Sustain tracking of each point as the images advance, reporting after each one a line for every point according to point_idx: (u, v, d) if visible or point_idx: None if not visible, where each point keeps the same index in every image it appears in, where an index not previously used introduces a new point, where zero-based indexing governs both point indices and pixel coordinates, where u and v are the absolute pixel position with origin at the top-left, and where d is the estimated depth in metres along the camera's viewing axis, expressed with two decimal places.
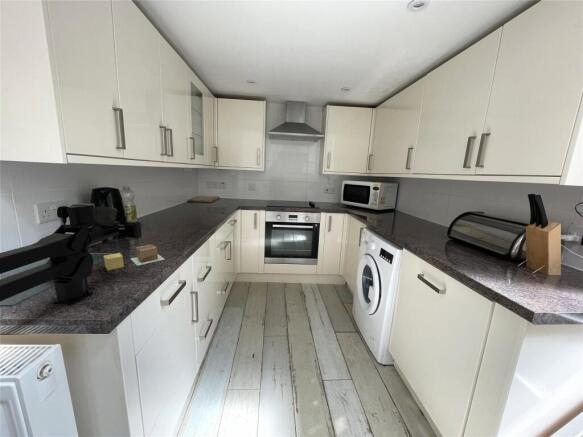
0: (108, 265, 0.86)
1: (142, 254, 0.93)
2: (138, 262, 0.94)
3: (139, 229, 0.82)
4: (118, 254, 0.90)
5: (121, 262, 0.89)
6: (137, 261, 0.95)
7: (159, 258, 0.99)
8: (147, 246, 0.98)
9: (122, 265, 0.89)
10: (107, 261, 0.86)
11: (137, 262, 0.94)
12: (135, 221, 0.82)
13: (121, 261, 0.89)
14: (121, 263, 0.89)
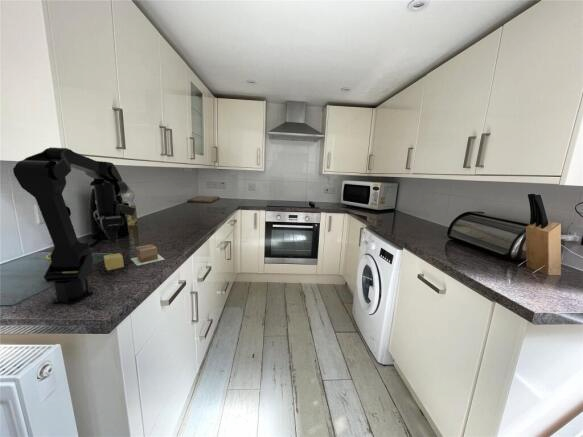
0: (108, 265, 0.86)
1: (142, 254, 0.93)
2: (138, 262, 0.94)
3: (115, 222, 0.80)
4: (118, 254, 0.90)
5: (121, 262, 0.89)
6: (137, 261, 0.95)
7: (159, 258, 0.99)
8: (147, 246, 0.98)
9: (122, 265, 0.89)
10: (107, 261, 0.86)
11: (137, 262, 0.94)
12: (123, 221, 0.83)
13: (121, 261, 0.89)
14: (121, 263, 0.89)
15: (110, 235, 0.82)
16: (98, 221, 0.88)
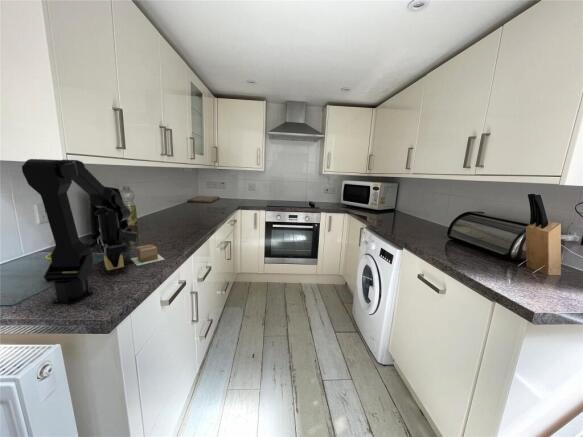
0: (108, 265, 0.86)
1: (142, 254, 0.93)
2: (138, 262, 0.94)
3: (118, 250, 0.82)
4: None
5: (121, 262, 0.89)
6: (137, 261, 0.95)
7: (159, 258, 0.99)
8: (147, 246, 0.98)
9: (122, 265, 0.89)
10: (107, 261, 0.85)
11: (137, 262, 0.94)
12: (126, 249, 0.85)
13: (121, 261, 0.89)
14: (121, 263, 0.89)
15: (112, 261, 0.86)
16: (102, 248, 0.88)
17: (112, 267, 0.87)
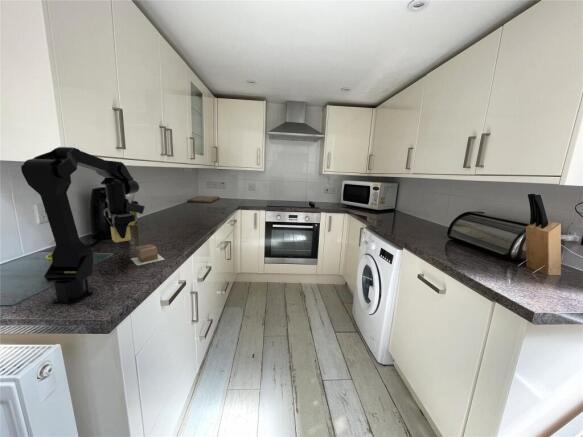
0: (115, 235, 0.86)
1: (142, 254, 0.93)
2: (138, 262, 0.94)
3: (126, 220, 0.82)
4: None
5: (128, 233, 0.89)
6: (137, 261, 0.95)
7: (159, 258, 0.99)
8: (147, 246, 0.98)
9: (129, 236, 0.90)
10: (114, 231, 0.86)
11: (137, 262, 0.94)
12: None
13: (128, 232, 0.89)
14: (128, 234, 0.89)
15: (120, 231, 0.86)
16: (109, 220, 0.89)
17: (119, 238, 0.87)
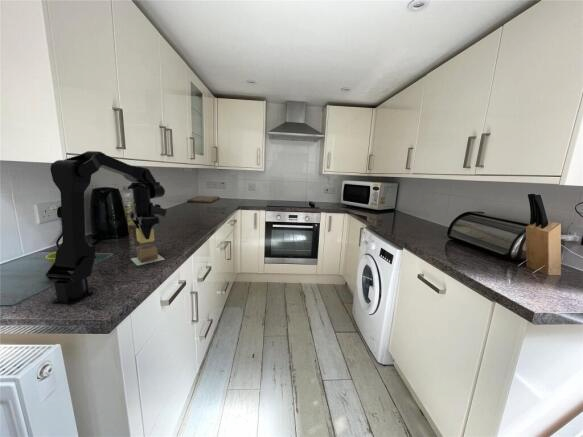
0: (141, 236, 0.93)
1: (142, 254, 0.93)
2: (138, 262, 0.94)
3: (152, 222, 0.88)
4: None
5: (152, 234, 0.95)
6: (137, 261, 0.95)
7: (159, 258, 0.99)
8: (147, 246, 0.98)
9: (153, 237, 0.96)
10: (140, 233, 0.92)
11: (137, 262, 0.94)
12: None
13: (152, 234, 0.95)
14: (152, 235, 0.95)
15: (145, 233, 0.92)
16: (135, 222, 0.95)
17: (144, 239, 0.94)
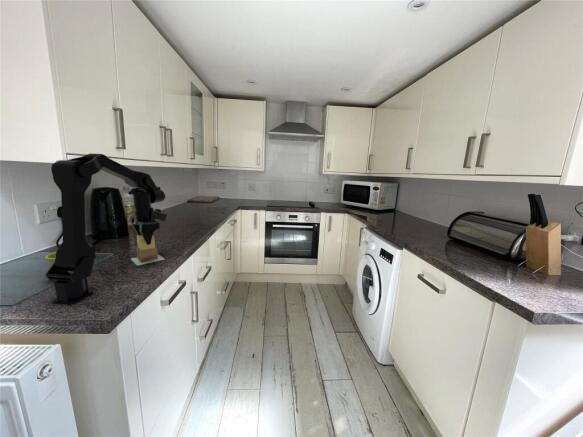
0: (142, 244, 0.93)
1: (142, 254, 0.93)
2: (138, 262, 0.94)
3: (152, 227, 0.89)
4: None
5: (153, 242, 0.96)
6: (137, 261, 0.95)
7: (159, 258, 0.99)
8: None
9: (153, 244, 0.96)
10: (141, 240, 0.93)
11: (137, 262, 0.94)
12: None
13: (153, 241, 0.96)
14: (153, 242, 0.96)
15: (146, 238, 0.92)
16: (135, 226, 0.96)
17: (145, 246, 0.94)
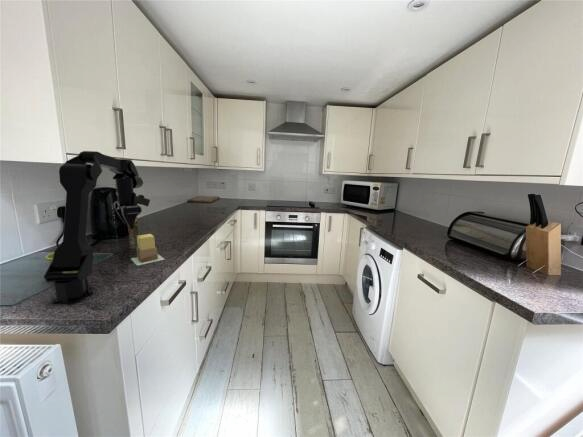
0: (142, 244, 0.93)
1: (142, 254, 0.93)
2: (138, 262, 0.94)
3: (134, 211, 0.92)
4: (149, 234, 0.97)
5: (153, 242, 0.96)
6: (137, 261, 0.95)
7: (159, 258, 0.99)
8: None
9: (153, 244, 0.96)
10: (141, 240, 0.93)
11: (137, 262, 0.94)
12: None
13: (153, 241, 0.96)
14: (153, 242, 0.96)
15: (129, 222, 0.95)
16: (118, 211, 1.00)
17: (145, 246, 0.94)
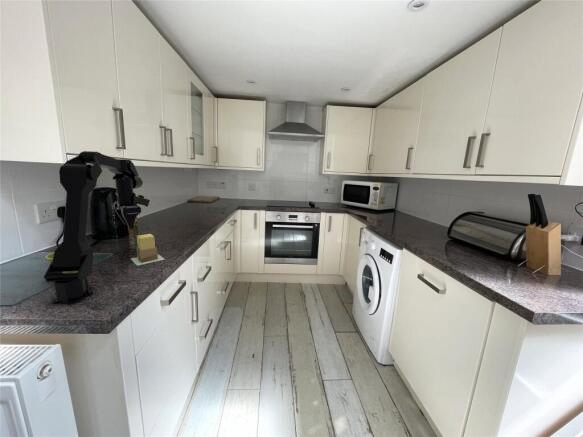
0: (142, 244, 0.93)
1: (142, 254, 0.93)
2: (138, 262, 0.94)
3: (133, 211, 0.92)
4: (149, 234, 0.97)
5: (153, 242, 0.96)
6: (137, 261, 0.95)
7: (159, 258, 0.99)
8: None
9: (153, 244, 0.96)
10: (141, 240, 0.93)
11: (137, 262, 0.94)
12: (140, 210, 0.95)
13: (153, 241, 0.96)
14: (153, 242, 0.96)
15: (129, 222, 0.95)
16: (117, 211, 1.00)
17: (145, 246, 0.94)
